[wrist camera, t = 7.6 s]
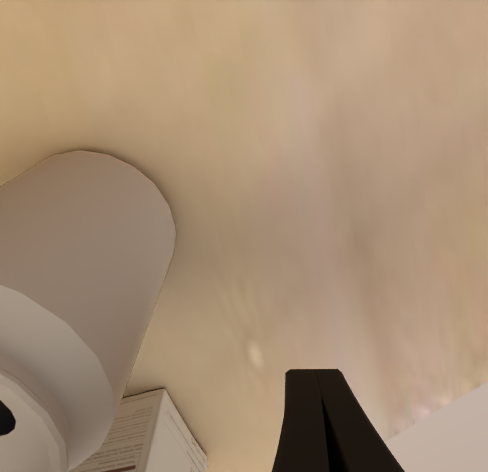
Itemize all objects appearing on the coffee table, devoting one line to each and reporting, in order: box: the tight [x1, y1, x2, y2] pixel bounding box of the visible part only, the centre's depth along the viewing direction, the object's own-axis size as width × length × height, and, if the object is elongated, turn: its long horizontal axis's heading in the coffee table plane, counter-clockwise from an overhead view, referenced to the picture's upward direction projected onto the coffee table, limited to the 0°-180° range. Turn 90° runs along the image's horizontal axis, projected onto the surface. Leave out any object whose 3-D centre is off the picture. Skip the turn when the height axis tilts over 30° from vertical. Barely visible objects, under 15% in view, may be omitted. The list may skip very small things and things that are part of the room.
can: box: [0, 150, 176, 472], centre depth 14 cm, size 8×8×12 cm
